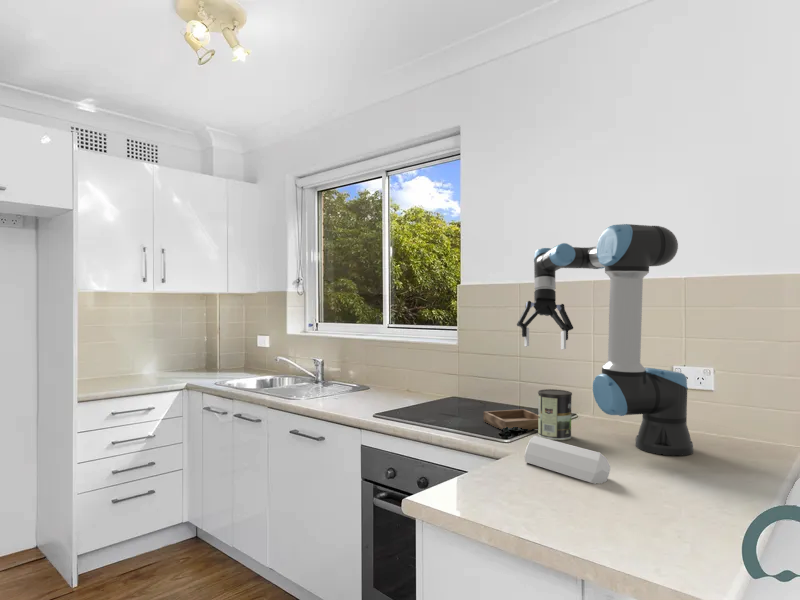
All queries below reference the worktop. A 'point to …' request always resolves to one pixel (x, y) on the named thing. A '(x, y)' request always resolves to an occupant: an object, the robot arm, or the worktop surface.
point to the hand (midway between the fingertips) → (545, 347)
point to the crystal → (567, 459)
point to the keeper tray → (511, 419)
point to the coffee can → (554, 414)
